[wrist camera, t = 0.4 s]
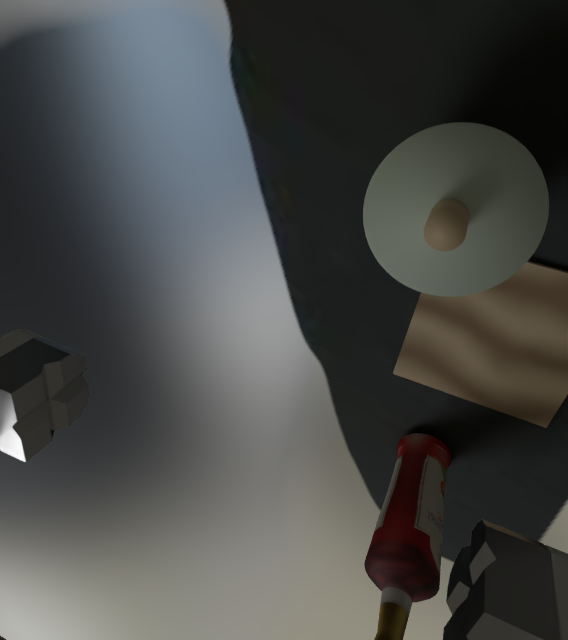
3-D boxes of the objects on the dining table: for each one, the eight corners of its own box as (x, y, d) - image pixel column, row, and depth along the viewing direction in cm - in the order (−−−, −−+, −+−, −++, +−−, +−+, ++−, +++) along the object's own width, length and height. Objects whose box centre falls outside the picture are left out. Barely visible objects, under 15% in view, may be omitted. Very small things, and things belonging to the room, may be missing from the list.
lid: (389, 104, 36) (376, 109, 32) (583, 145, 32) (596, 156, 28) (349, 266, 43) (335, 286, 39) (504, 313, 40) (505, 340, 36)
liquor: (459, 468, 61) (438, 711, 38) (405, 469, 64) (355, 691, 41) (446, 423, 58) (414, 654, 36) (389, 427, 62) (328, 638, 39)
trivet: (440, 236, 48) (440, 238, 48) (631, 288, 44) (632, 291, 43) (393, 371, 58) (392, 373, 57) (545, 424, 53) (546, 427, 53)
